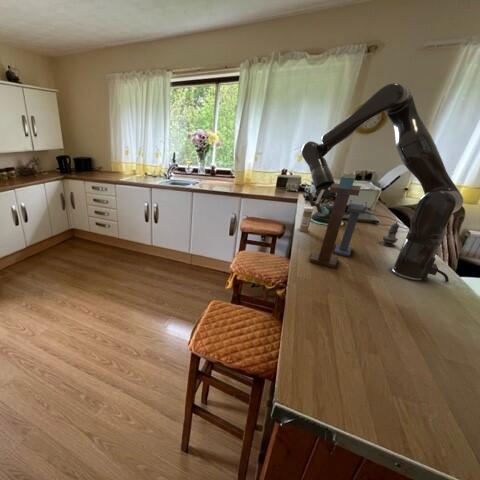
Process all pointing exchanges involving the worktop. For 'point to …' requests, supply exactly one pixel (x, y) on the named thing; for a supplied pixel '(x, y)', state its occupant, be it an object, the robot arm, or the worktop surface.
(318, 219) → the dark green shoe
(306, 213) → the sprinkles bottle
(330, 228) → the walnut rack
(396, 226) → the dark grey figurine
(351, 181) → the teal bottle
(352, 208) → the blue grey stand
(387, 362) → the worktop surface
